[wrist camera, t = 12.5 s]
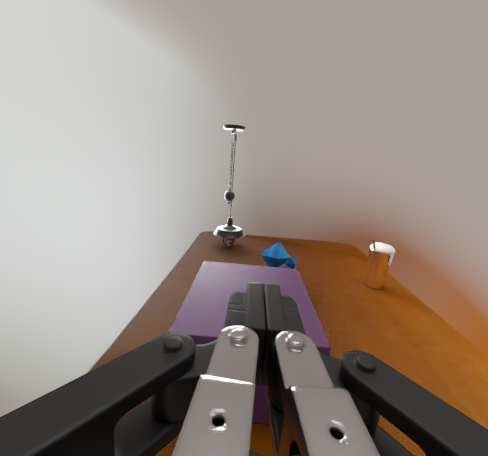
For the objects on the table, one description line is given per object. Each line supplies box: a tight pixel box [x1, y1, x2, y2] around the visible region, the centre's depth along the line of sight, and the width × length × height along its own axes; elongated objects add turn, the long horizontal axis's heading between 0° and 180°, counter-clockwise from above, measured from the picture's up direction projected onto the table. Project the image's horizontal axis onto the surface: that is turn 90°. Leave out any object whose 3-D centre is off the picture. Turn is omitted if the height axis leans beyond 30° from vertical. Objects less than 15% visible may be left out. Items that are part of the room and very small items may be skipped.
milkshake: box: [366, 241, 395, 289], centre depth 53 cm, size 5×5×10 cm
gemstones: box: [261, 242, 298, 269], centre depth 51 cm, size 7×9×12 cm
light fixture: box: [214, 125, 245, 246], centre depth 69 cm, size 10×8×31 cm
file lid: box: [168, 261, 331, 355], centre depth 30 cm, size 16×14×1 cm
